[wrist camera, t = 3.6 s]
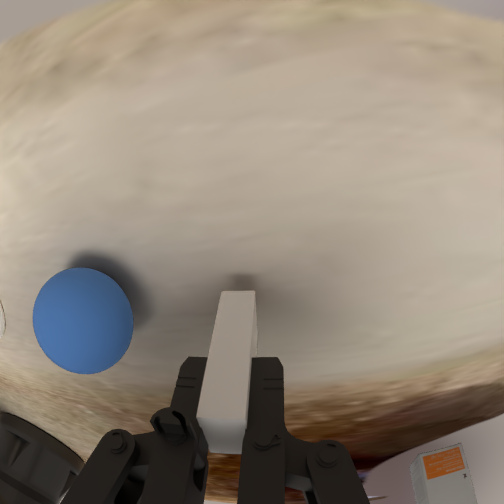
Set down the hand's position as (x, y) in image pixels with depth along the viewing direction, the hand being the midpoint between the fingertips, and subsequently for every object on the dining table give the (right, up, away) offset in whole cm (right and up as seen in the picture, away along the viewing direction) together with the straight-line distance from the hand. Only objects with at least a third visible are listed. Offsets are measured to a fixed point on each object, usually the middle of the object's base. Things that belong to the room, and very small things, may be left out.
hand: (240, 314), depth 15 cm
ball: (-8, -1, 0) cm, 8 cm away
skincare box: (+22, -21, +13) cm, 33 cm away
